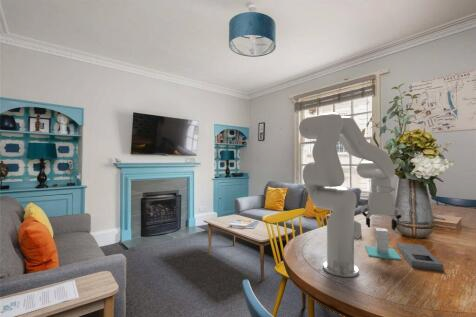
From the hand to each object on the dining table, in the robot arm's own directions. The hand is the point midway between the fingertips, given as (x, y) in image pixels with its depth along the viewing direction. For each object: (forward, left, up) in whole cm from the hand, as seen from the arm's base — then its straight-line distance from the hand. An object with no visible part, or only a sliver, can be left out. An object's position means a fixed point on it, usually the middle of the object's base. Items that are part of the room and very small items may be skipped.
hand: (380, 227), depth 107 cm
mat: (+1, -1, -11) cm, 11 cm away
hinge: (+25, +13, -12) cm, 31 cm away
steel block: (+1, 0, -11) cm, 11 cm away
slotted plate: (0, -13, -11) cm, 18 cm away
